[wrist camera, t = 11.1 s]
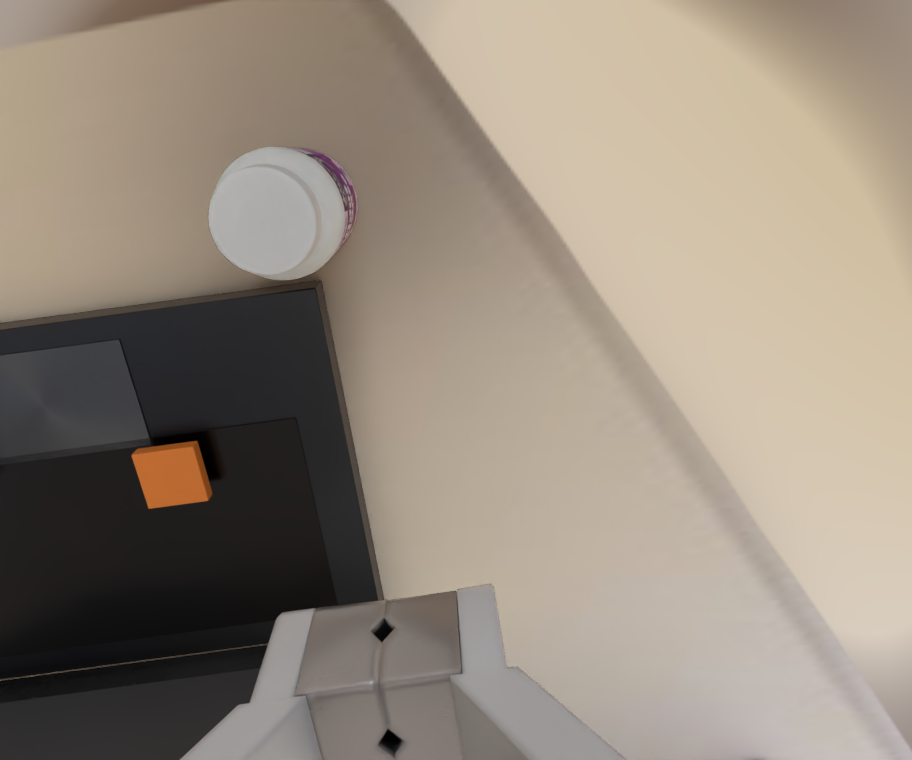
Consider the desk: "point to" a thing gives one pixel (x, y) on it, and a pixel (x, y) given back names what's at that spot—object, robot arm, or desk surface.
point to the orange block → (172, 474)
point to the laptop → (181, 526)
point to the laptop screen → (125, 707)
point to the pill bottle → (282, 211)
